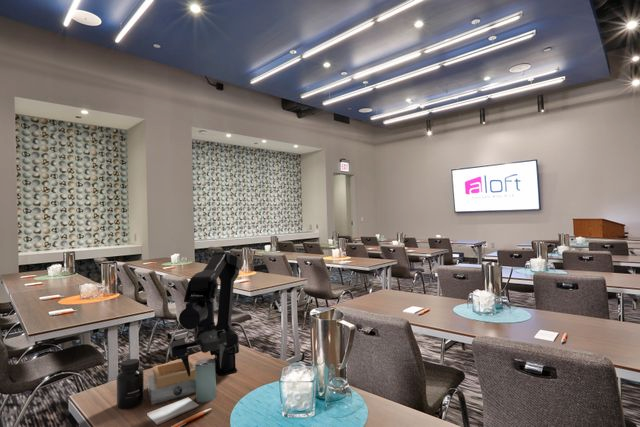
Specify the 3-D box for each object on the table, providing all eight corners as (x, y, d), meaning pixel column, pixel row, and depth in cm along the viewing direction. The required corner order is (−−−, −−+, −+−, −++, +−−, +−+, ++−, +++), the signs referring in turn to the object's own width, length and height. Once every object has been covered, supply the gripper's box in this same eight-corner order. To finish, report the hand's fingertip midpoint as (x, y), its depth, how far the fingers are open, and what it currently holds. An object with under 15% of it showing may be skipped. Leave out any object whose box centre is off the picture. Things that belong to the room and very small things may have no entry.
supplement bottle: (132, 411, 97) (131, 367, 97) (111, 409, 98) (110, 366, 98) (149, 398, 104) (148, 357, 104) (129, 397, 105) (128, 356, 105)
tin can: (213, 391, 107) (212, 356, 107) (218, 398, 102) (217, 362, 102) (194, 396, 104) (193, 361, 104) (198, 404, 99) (197, 367, 99)
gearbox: (193, 376, 118) (193, 356, 118) (202, 391, 107) (202, 369, 107) (147, 388, 110) (146, 367, 110) (151, 405, 100) (151, 382, 100)
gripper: (174, 332, 92) (176, 392, 92) (243, 319, 101) (245, 373, 101) (168, 322, 101) (169, 376, 101) (232, 311, 111) (233, 360, 111)
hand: (205, 372), depth 103 cm, fingers open, 9 cm apart
